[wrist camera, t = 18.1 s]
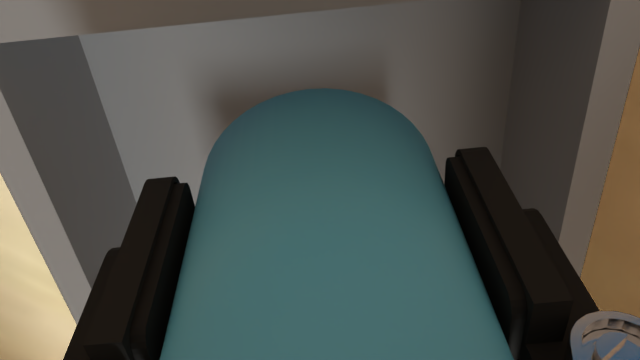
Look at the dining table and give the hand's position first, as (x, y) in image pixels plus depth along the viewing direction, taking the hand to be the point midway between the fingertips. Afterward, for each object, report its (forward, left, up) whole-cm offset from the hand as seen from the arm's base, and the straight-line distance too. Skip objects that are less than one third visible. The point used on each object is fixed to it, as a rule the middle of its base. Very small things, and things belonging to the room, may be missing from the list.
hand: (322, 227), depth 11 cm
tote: (-4, 0, -7) cm, 8 cm away
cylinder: (0, 0, -1) cm, 1 cm away
